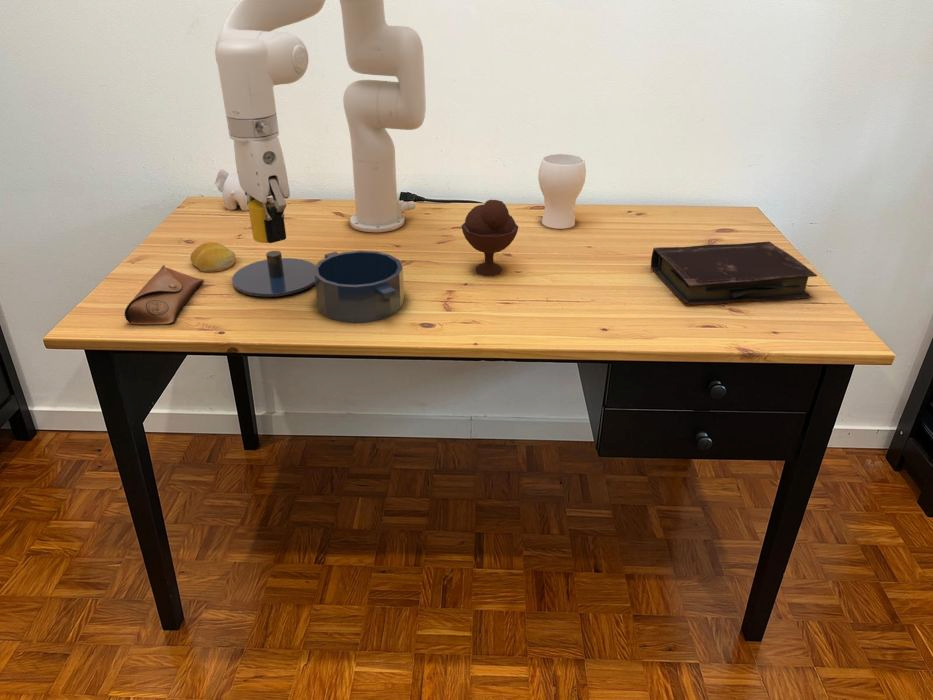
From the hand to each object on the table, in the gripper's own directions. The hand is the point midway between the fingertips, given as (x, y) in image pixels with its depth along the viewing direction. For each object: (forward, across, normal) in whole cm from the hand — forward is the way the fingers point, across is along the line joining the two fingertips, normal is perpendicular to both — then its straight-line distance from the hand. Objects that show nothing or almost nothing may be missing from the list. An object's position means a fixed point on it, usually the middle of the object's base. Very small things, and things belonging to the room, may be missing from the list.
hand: (269, 234), depth 122 cm
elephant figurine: (+16, +58, -17) cm, 63 cm away
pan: (+15, -5, -14) cm, 21 cm away
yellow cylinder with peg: (0, 0, 0) cm, 0 cm away
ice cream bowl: (+16, -8, -42) cm, 45 cm away
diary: (+16, -40, -75) cm, 87 cm away
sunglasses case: (+15, +16, +15) cm, 27 cm away
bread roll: (+15, +28, +2) cm, 32 cm away
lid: (+15, +13, -5) cm, 20 cm away
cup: (+16, +3, -72) cm, 73 cm away
